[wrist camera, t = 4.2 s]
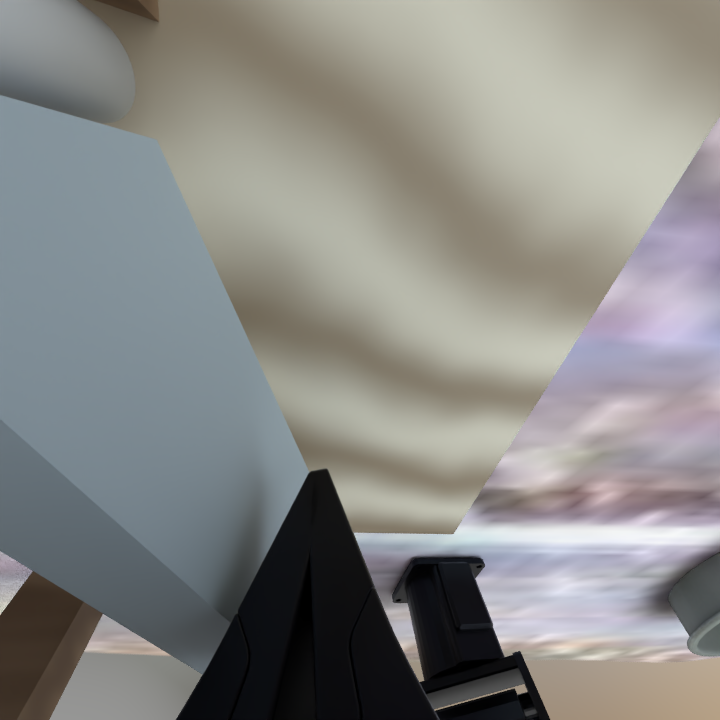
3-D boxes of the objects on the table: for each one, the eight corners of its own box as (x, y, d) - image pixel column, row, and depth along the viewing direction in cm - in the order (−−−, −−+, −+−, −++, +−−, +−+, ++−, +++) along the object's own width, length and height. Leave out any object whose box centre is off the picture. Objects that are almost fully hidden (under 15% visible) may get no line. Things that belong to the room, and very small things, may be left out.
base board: (447, 520, 22) (453, 534, 21) (64, 509, 17) (50, 527, 16) (735, 43, 10) (775, 29, 9) (-330, -511, 5) (-474, -666, 4)
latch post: (151, 523, 17) (5, 816, 9) (97, 522, 16) (-107, 833, 8) (146, 494, 16) (-28, 802, 8) (88, 491, 15) (-161, 821, 7)
